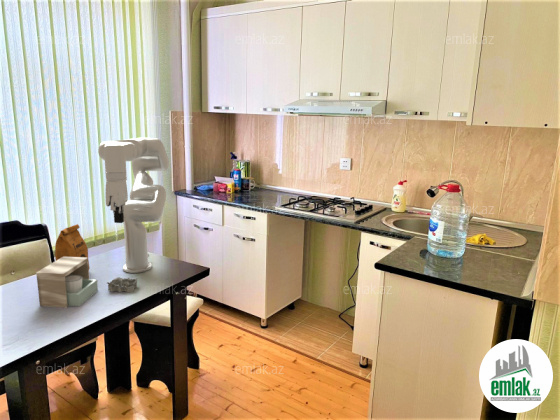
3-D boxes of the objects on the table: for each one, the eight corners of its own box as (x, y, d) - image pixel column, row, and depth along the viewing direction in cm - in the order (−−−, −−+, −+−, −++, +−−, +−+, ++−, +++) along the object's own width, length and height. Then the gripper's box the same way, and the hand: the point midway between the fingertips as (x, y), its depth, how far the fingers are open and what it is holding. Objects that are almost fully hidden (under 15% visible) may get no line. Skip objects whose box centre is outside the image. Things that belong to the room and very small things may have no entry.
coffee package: (93, 271, 182) (90, 224, 177) (74, 282, 170) (70, 231, 165) (74, 269, 184) (69, 222, 179) (53, 280, 172) (48, 229, 167)
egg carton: (105, 292, 163) (105, 282, 162) (114, 284, 170) (114, 275, 169) (131, 293, 162) (131, 284, 161) (139, 286, 169) (139, 276, 168)
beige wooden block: (66, 286, 166) (63, 256, 163) (90, 288, 165) (87, 257, 162) (39, 305, 149) (36, 272, 146) (66, 307, 149) (63, 273, 146)
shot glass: (59, 297, 155) (58, 280, 153) (72, 290, 161) (70, 273, 160) (75, 300, 153) (74, 282, 152) (87, 292, 160) (86, 275, 158)
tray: (68, 288, 164) (67, 278, 163) (97, 290, 164) (97, 279, 163) (47, 304, 151) (46, 293, 150) (79, 306, 150) (78, 294, 149)
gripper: (115, 173, 165) (118, 217, 169) (97, 179, 151) (100, 227, 155) (133, 174, 165) (135, 218, 169) (117, 179, 150) (120, 227, 155)
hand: (119, 222), depth 162 cm, fingers closed
